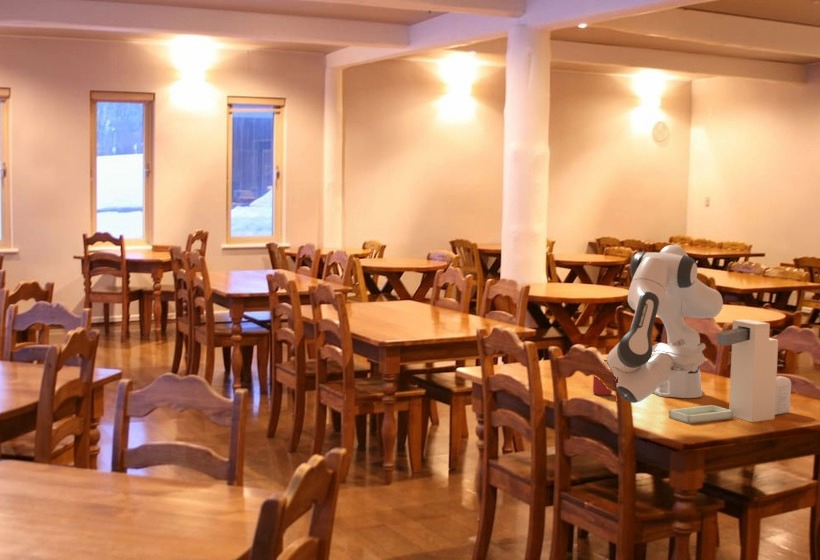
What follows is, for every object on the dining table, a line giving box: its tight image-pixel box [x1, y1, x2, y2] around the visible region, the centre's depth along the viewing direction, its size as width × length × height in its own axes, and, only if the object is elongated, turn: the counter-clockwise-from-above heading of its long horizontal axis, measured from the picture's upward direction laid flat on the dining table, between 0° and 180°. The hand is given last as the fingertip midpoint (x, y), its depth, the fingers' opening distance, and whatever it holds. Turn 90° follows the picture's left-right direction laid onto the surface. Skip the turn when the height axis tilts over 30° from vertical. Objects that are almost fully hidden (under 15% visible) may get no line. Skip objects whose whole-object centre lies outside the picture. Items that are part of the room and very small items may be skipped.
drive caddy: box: [716, 327, 750, 347], centre depth 335 cm, size 4×13×4 cm, turn 117°
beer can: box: [592, 359, 613, 397], centre depth 374 cm, size 7×7×12 cm
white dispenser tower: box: [728, 318, 779, 423], centre depth 340 cm, size 10×10×32 cm
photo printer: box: [775, 375, 792, 416], centre depth 347 cm, size 10×4×12 cm, turn 123°
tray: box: [668, 404, 734, 425], centre depth 339 cm, size 9×18×2 cm, turn 117°
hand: (693, 342), depth 328 cm, fingers open, 8 cm apart
